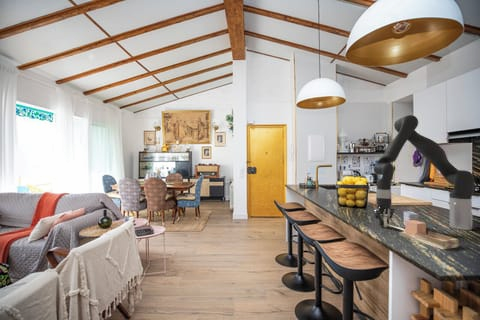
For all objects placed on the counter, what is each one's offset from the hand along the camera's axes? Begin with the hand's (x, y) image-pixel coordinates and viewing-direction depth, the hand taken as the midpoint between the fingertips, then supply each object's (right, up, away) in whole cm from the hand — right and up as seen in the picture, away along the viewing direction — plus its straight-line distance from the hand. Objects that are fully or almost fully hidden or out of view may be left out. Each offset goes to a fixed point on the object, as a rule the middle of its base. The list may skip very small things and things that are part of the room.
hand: (384, 225), depth 133 cm
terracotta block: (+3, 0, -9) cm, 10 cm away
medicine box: (+15, -1, -1) cm, 15 cm away
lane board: (+7, -1, -22) cm, 23 cm away
